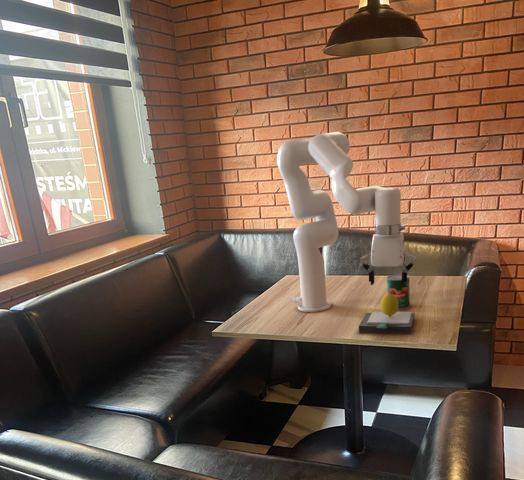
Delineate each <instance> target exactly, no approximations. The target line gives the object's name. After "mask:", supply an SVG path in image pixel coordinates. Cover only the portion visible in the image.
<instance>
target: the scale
mask: <svg viewBox="0 0 524 480" xmlns="http://www.w3.org/2000/svg"><path fill="white" fill-rule="evenodd" d="M415 320H416V313H415V312H413V311H397V312H396V313H395V314H394V315H392V316H391V317H389V316H388V315H385V314H384V313H383V312H382V311H372V312H365V314H364V316H363V318H362V319H361V321H360V323H359V324H358V334H372V335H373V334H374V335H378V334H381V335H411V334H412V331H413V328H414V324H415Z"/></svg>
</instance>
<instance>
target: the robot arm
mask: <svg viewBox="0 0 524 480" xmlns="http://www.w3.org/2000/svg"><path fill="white" fill-rule="evenodd" d="M350 149H351V143H350V140H349V138H348V137H347V135H346V134H345V133H342V132H339V131H334V132H324V133H319V134H316V135H314V136H313V137H305V138H294V139H291V140H287V141H285V142H283V143H282V144H281V145H280V147H279V148H278V151H277V156H276V157H277V158H276V163H277V168H278V171H279V174H280V176H281V178H282V181H283V183H284V188H285V191H286V196H287V200H288V204H289V208H290V211H291V215H292V216H293V218H294V219H295V220H297V221H304V220H310V219H315V221H310V222H306V223H302V224H300V225H298V226H297V227H296V228H295V229H294V231H293V236H292V239H293V244H294V247H295V251H296V256H297V264H298V277H299V287H300V295H299V296H291V297H290V302H291V303H292V304H298V305H297V309H298V310H299V311H300V312H304V313H316V312H318V313H319V312H323V311H327V310H328V309H330V308H332V303H331V301H329V300H328V299H327V285H326V284H327V283H326V270H325V269H326V268H325V259H324V256H323V254H322V253H321V251H320V248H324V247H328V246H330V245H331V246H332V245H333V244H335V243H336V241H338V238H339V226H338V222H337V217H336V213H335V209H334V204H333V200H332V198H331V196H330V195H329V193H328V192H327V191H325V190H323V189H313V190H312V189H311V186H310V185H311V184H310V181H309V178H308V176H307V175H306V173H305V171H304V170H303V169H302V168H300V166H302V165H309V164H310V165H311V164H318V166H319V167H320V168H321V169H322V170H323V171H324V172H325V173H326V174H327V176H328V177H329V178H330V179H331V180H330V187H331V191H332V196H333V197H334V199H335V200H336V202H337V203H338V204H339V205H340V206H341V207H342V208H343V209H344V211H346V212H347V213H349V214H350V215H360V214H365V213H371V212H374V231H375V232H374V234H372V240H371V248H370V249H371V250H370V252H369V253H367V254H365V255H363V256H362V257H360V258H359V262H360V263H361V265H362V267H363V269H365V270H366V271H367V273H368V282H369V283H370V286H373V285H374V284H375V271H374V270H375V268H400V270H401V271H402V272H401V274H402V285H404V284H405V282H407V275H408V272H409V271H410V270H411V269H412V268H413V267H414V265H415V263H416V261H417V259H418V258H417V256H415V255H413V254H411V253H409V252H407V251H406V247H405V246H406V245H405V244H406V243H405V237H404V232H402V231H405V230H406V225H403V224H402V223H401V215H402V214H401V205H402V204H401V203H402V202H401V199H402V197H401V196H402V195H401V194H402V193H401V190H400V189H399V187H395V186H392V187H391V186H389V187H387V186H386V187H384V186H381V185H372V186H364V187H357V188H355V187H353V185H352V184H351V183H350V182H349V180H347V179H346V178H348V176H349V175H350V174H351V173H352V171H353V168H354V161H353V160H352V158H351V157H350V156H349V155H348V154H349V152H350ZM369 259H370V265H369V264H368V263H367V260H369ZM406 259H408V260H409V261H410V262H409V263H408V264H407V265H406V264H405V262H406Z"/></svg>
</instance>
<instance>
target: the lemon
mask: <svg viewBox="0 0 524 480" xmlns="http://www.w3.org/2000/svg"><path fill="white" fill-rule="evenodd" d="M380 310H381V312H383V313H384V314H385V315H388V316H389V317H391V316H392V315H394V314H395V313H396V312H398V311H399V310H398V300H397V298H396V296H394V295H393V294H391V293H388V294H387V293H386V294H385V295H384V296H382V298H381V301H380Z"/></svg>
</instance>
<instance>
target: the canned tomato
mask: <svg viewBox="0 0 524 480" xmlns="http://www.w3.org/2000/svg"><path fill="white" fill-rule="evenodd" d="M388 293H391V294H393V295H394V296H396V298H397V300H398V310H397V311H402V310H407V309H409V308H410V307H411V301H410V296H411V295H410V294H411V293H410V275H408V274H407V282H405V284H404V285H402V273H399V274H398V273H397V274H390V275H387V276H386V294H388Z"/></svg>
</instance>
